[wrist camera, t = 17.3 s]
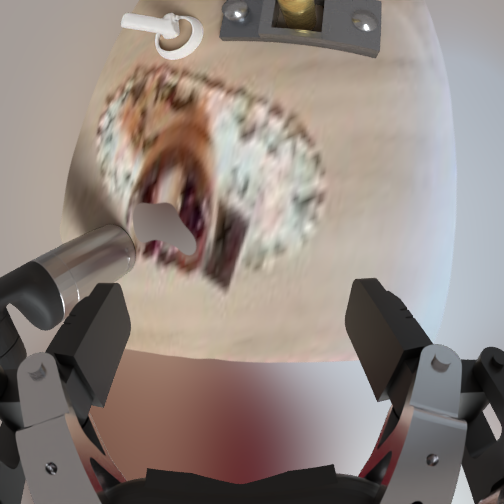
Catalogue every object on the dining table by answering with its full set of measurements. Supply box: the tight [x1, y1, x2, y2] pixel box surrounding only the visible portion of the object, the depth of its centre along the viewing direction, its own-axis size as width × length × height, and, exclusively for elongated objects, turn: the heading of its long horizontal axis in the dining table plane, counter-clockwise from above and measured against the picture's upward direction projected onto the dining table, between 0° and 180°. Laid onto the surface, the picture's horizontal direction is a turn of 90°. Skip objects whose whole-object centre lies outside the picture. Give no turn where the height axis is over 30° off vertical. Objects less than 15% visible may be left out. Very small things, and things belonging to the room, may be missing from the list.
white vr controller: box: [121, 13, 203, 60], centre depth 29 cm, size 8×12×7 cm
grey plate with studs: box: [219, 0, 381, 58], centre depth 25 cm, size 20×8×3 cm, turn 83°
